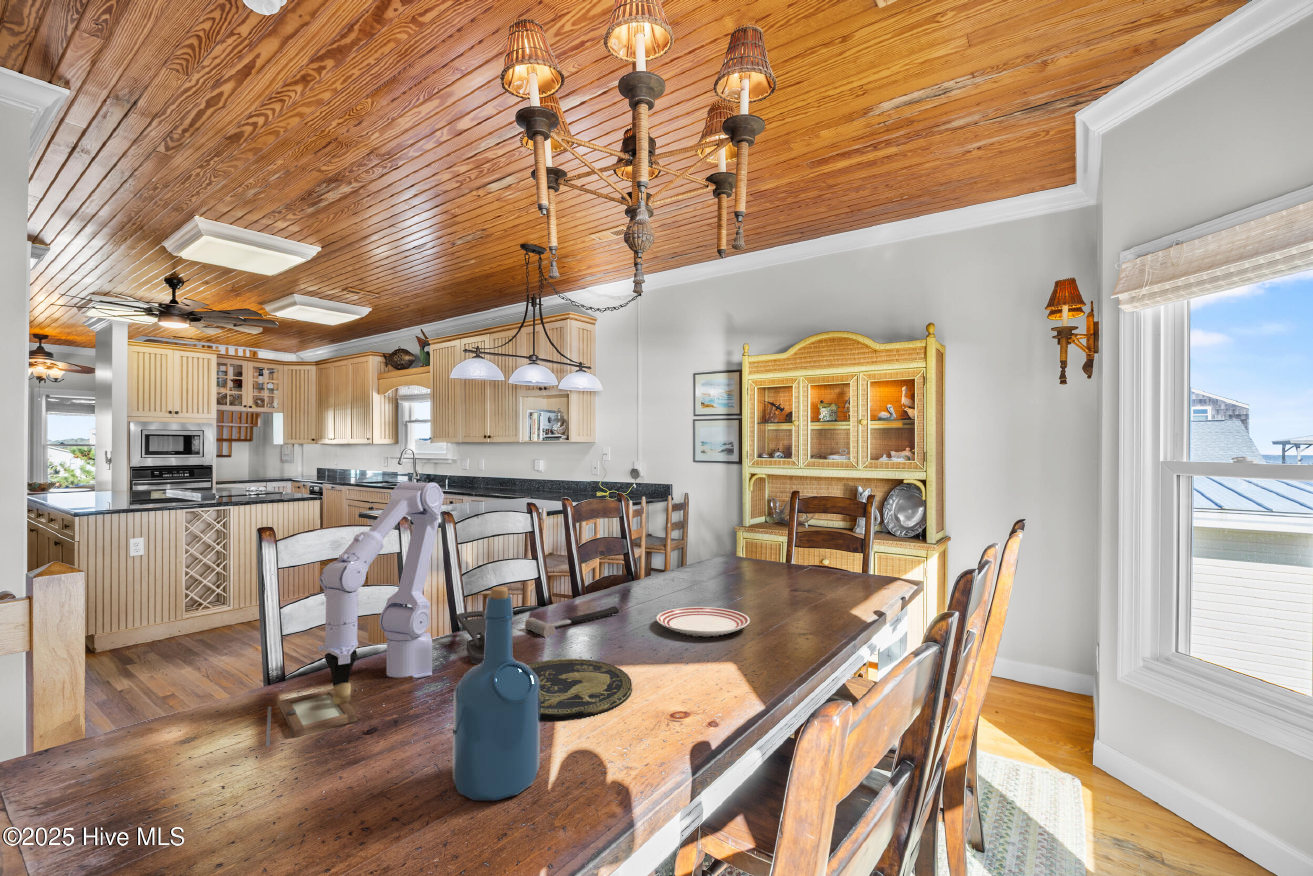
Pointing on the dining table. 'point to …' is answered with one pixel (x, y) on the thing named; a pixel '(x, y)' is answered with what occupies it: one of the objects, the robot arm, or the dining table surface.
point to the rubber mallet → (565, 621)
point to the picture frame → (318, 710)
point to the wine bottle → (496, 715)
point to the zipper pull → (474, 634)
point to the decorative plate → (579, 688)
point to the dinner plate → (703, 621)
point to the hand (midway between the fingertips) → (340, 689)
